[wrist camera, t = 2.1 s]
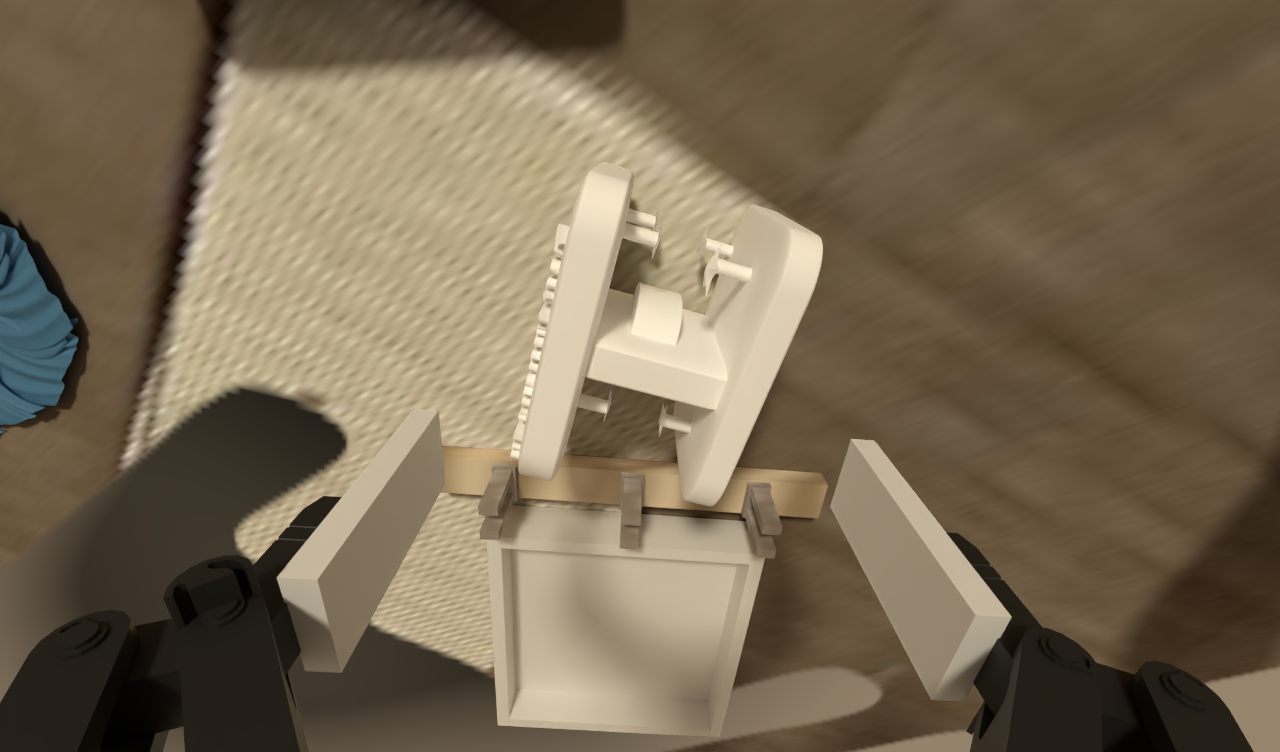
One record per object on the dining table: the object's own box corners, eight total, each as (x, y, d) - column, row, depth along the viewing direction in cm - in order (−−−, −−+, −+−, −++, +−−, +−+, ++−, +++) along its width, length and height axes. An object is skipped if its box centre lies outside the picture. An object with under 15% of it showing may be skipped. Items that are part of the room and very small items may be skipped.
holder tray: (755, 521, 40) (765, 555, 36) (715, 698, 49) (719, 737, 46) (499, 504, 39) (486, 536, 36) (507, 686, 48) (497, 725, 45)
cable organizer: (689, 420, 36) (709, 537, 25) (543, 382, 35) (499, 489, 24) (770, 207, 30) (840, 246, 19) (595, 153, 29) (568, 162, 18)
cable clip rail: (821, 473, 38) (851, 529, 32) (812, 505, 39) (839, 564, 34) (441, 445, 37) (406, 499, 31) (444, 479, 38) (411, 536, 33)
